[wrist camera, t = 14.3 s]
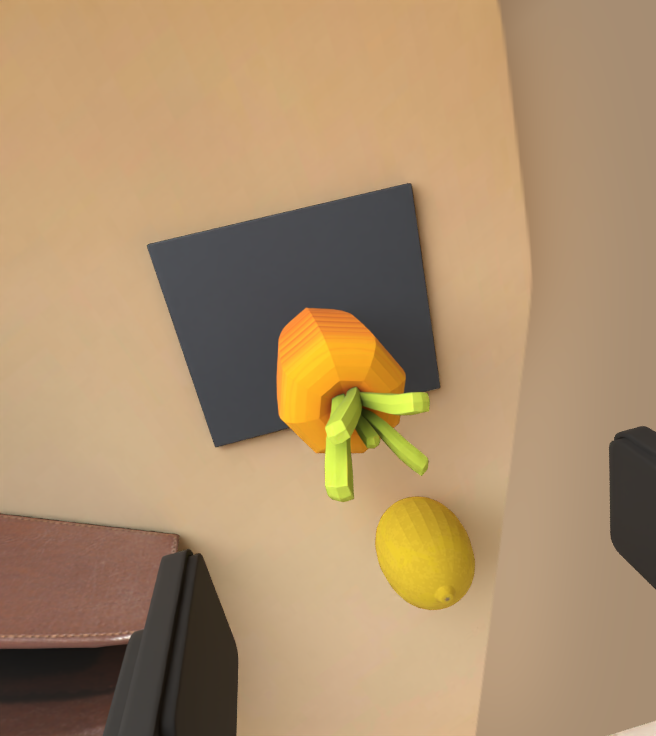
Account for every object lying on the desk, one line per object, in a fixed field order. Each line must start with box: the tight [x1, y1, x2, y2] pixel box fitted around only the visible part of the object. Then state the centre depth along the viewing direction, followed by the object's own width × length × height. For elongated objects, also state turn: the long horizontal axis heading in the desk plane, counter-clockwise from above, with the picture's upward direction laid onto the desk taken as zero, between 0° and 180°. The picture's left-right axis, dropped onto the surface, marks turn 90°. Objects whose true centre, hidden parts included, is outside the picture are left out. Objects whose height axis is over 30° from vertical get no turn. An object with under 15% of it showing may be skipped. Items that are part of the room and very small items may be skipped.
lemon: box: [375, 496, 475, 610], centre depth 30 cm, size 6×6×8 cm
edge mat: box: [147, 183, 440, 447], centre depth 28 cm, size 14×12×1 cm
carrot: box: [277, 308, 430, 502], centre depth 21 cm, size 5×5×15 cm
